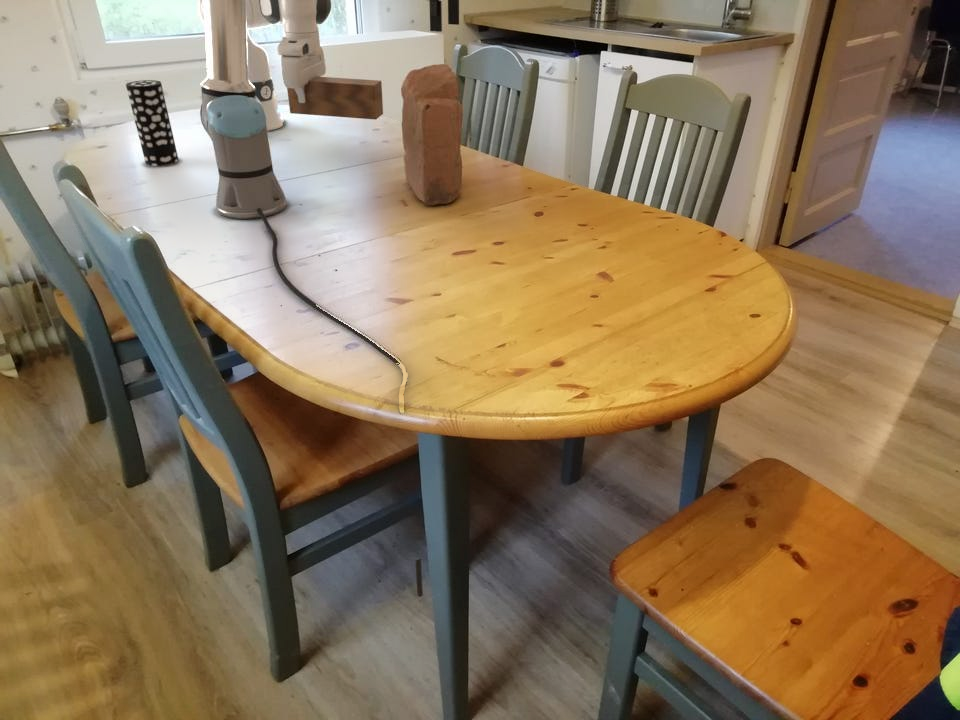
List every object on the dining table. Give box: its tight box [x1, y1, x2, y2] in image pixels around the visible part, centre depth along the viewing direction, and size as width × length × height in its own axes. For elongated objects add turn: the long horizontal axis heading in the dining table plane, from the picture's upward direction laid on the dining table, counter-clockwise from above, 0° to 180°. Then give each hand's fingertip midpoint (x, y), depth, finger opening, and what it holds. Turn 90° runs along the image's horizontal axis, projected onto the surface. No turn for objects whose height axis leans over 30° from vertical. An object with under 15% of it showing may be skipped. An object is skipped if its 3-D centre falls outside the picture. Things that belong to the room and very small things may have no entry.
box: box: [286, 76, 384, 120], centre depth 183 cm, size 24×6×8 cm, turn 80°
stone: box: [400, 63, 464, 206], centre depth 161 cm, size 22×11×28 cm, turn 18°
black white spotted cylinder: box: [125, 79, 179, 167], centre depth 181 cm, size 8×8×20 cm
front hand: (445, 27), depth 170 cm, fingers open, 13 cm apart
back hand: (308, 99), depth 184 cm, fingers closed on box, 6 cm apart
